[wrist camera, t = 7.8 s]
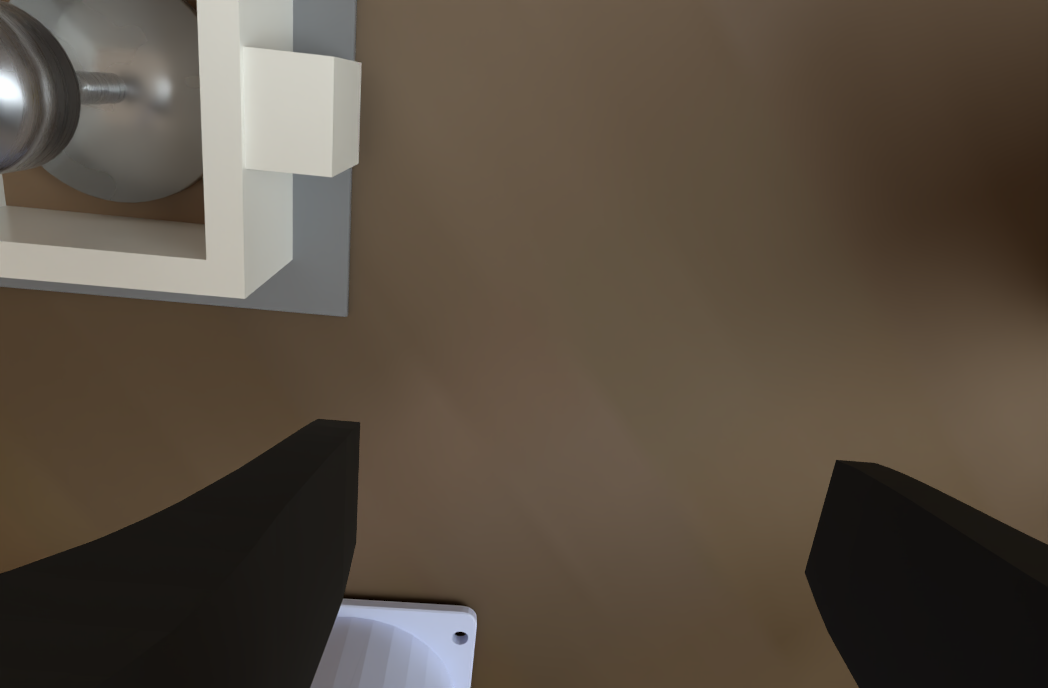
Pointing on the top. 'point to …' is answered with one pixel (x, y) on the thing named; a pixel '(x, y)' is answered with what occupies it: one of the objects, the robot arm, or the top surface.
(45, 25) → the plunger
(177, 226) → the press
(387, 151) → the top surface
